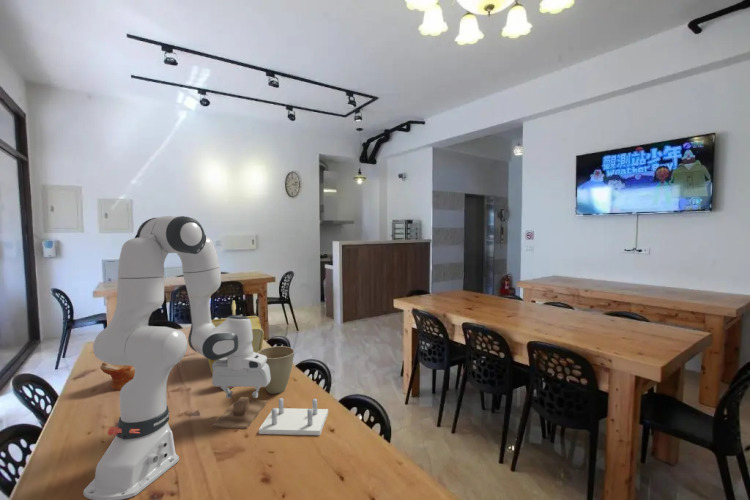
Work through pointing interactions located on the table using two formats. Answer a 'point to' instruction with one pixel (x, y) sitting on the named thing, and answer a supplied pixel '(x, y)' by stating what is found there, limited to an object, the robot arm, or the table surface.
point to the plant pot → (278, 367)
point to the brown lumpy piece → (118, 374)
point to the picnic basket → (256, 331)
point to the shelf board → (240, 419)
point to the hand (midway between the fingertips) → (242, 397)
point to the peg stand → (294, 420)
